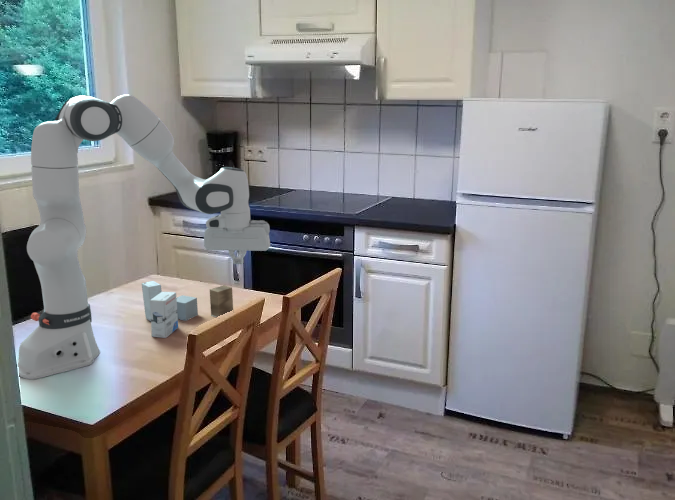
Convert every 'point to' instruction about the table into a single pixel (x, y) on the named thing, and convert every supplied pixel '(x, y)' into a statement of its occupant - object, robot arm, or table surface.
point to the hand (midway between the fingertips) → (238, 263)
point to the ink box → (164, 314)
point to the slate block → (186, 307)
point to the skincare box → (149, 295)
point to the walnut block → (221, 300)
